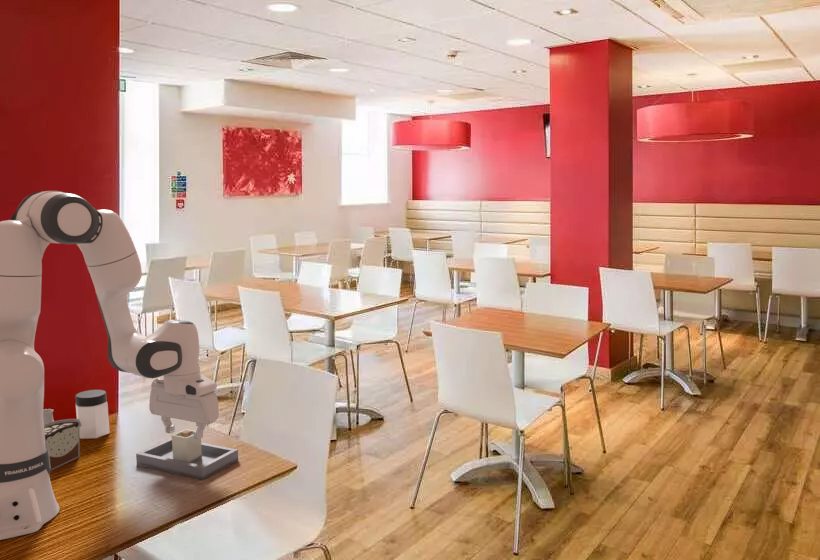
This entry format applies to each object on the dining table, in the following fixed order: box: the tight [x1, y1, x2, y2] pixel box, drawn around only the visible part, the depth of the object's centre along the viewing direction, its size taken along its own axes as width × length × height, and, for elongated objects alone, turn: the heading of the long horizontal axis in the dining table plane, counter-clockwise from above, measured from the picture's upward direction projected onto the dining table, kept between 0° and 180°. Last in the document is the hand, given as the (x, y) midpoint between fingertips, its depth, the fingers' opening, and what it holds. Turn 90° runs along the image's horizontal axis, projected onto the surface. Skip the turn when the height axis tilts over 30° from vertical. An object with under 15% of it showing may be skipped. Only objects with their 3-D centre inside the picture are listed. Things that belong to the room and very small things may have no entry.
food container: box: [44, 418, 81, 472], centre depth 179 cm, size 12×6×10 cm, turn 161°
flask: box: [43, 408, 55, 425], centre depth 191 cm, size 7×7×10 cm
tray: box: [135, 437, 239, 481], centre depth 178 cm, size 13×22×3 cm, turn 64°
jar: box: [74, 389, 110, 440], centre depth 199 cm, size 9×8×12 cm
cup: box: [171, 428, 202, 463], centre depth 178 cm, size 5×5×8 cm
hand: (184, 435), depth 177 cm, fingers open, 8 cm apart
